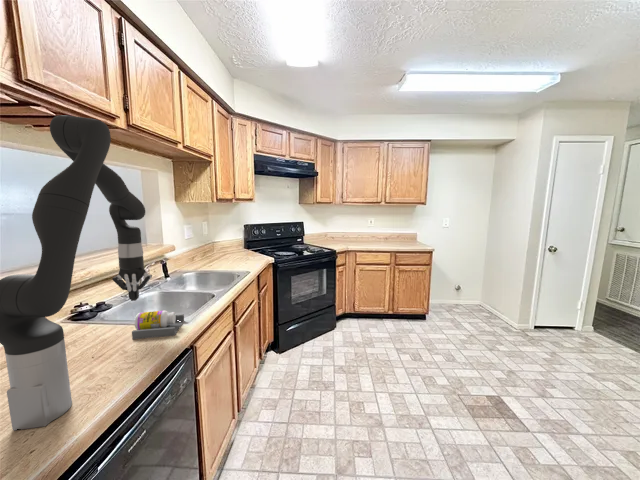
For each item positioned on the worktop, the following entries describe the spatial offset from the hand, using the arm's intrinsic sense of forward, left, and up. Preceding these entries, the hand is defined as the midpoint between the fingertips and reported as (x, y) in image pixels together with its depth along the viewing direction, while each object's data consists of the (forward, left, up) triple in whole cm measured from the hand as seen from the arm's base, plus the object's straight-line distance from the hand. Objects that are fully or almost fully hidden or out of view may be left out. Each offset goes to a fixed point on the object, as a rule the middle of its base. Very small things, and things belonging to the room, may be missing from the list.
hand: (134, 300), depth 101 cm
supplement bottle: (0, 0, -9) cm, 9 cm away
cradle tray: (0, -8, -13) cm, 15 cm away
